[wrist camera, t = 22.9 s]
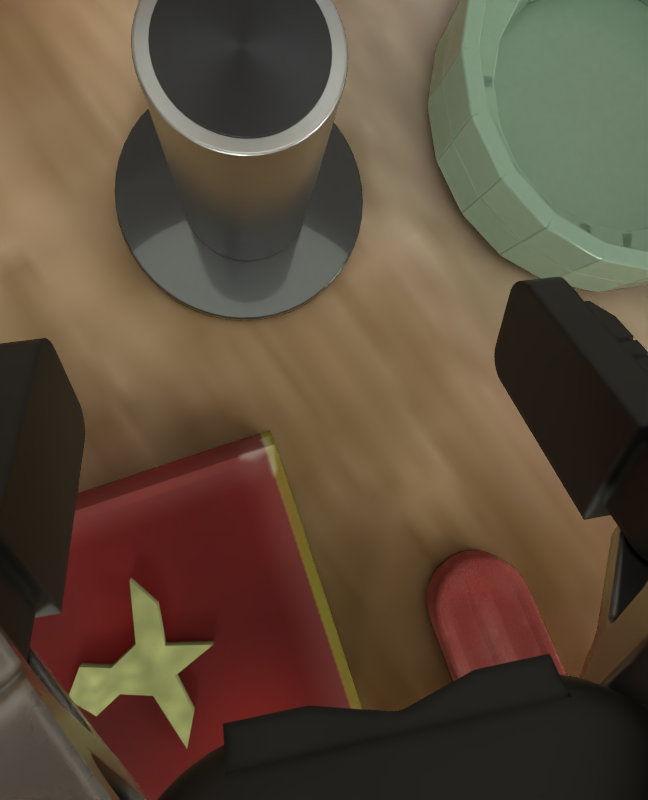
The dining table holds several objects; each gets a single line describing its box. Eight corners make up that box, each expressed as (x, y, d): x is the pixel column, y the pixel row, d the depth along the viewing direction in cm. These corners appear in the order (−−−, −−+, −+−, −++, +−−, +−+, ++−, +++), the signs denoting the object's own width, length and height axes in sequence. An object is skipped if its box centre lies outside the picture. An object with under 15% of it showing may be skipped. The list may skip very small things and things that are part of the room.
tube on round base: (314, 254, 23) (362, 145, 13) (192, 267, 23) (147, 163, 13) (277, -13, 23) (297, -325, 13) (152, -7, 23) (75, -330, 13)
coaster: (64, 193, 23) (59, 187, 22) (242, 31, 24) (242, 22, 23) (242, 370, 24) (242, 369, 23) (407, 208, 24) (411, 203, 24)
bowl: (352, 107, 24) (375, 40, 20) (589, -118, 26) (660, -228, 21) (590, 363, 26) (661, 355, 21) (801, 136, 27) (911, 84, 23)
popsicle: (553, 918, 23) (417, 586, 23) (532, 883, 25) (406, 573, 25) (646, 866, 24) (515, 540, 23) (619, 835, 26) (497, 531, 25)
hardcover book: (-269, 604, 21) (-398, 655, 17) (268, 427, 24) (272, 433, 20) (-160, 899, 22) (-259, 1019, 17) (355, 694, 24) (377, 755, 20)
